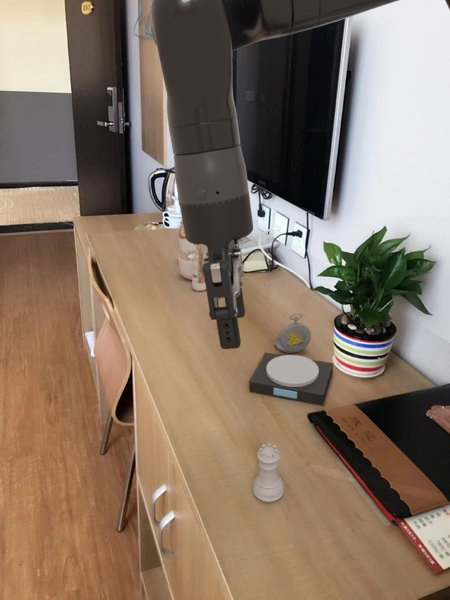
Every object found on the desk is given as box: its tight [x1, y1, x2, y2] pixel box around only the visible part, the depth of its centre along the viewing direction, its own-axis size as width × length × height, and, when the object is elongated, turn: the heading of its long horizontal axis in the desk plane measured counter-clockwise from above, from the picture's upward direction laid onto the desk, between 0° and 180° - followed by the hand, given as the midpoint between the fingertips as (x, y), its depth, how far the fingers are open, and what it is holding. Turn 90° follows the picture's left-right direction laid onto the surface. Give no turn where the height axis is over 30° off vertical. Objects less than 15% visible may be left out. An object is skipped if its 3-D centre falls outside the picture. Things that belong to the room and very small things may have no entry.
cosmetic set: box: [177, 219, 208, 292], centre depth 143 cm, size 25×9×19 cm, turn 12°
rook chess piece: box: [252, 442, 285, 503], centre depth 71 cm, size 4×4×8 cm
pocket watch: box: [274, 313, 312, 354], centre depth 107 cm, size 8×8×10 cm
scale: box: [248, 352, 334, 406], centre depth 97 cm, size 14×11×3 cm
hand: (234, 331), depth 59 cm, fingers open, 8 cm apart
